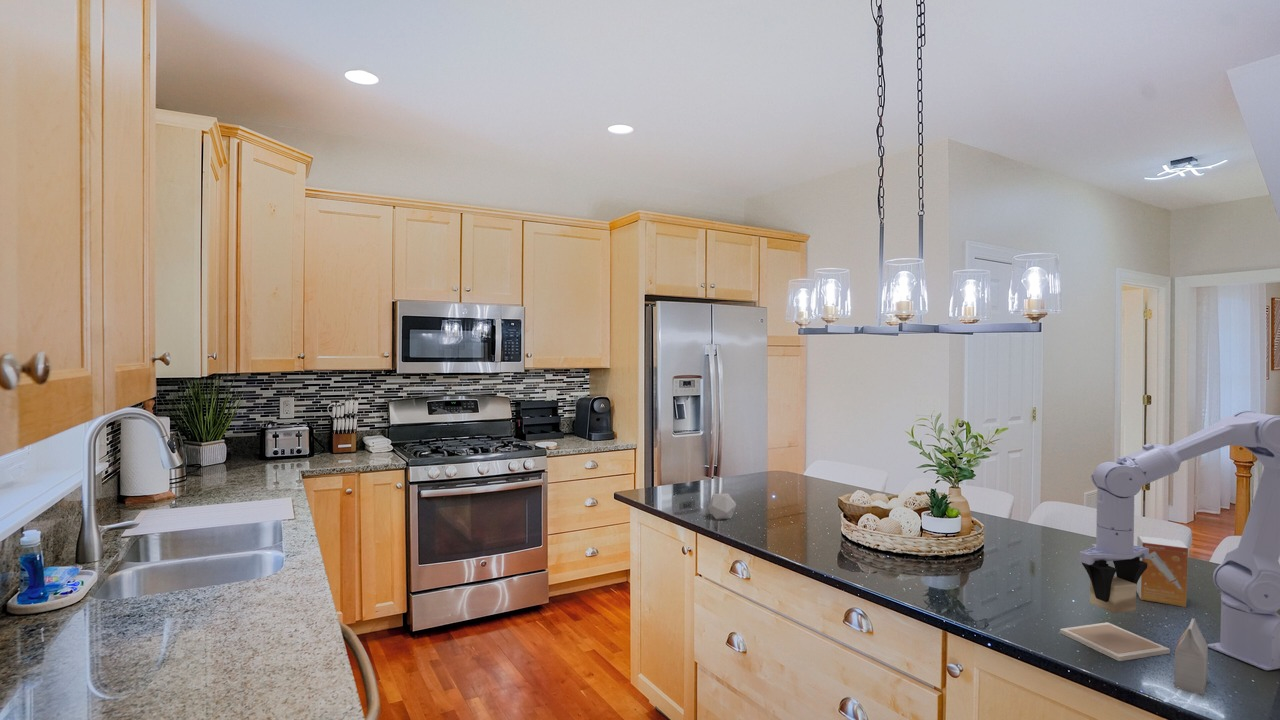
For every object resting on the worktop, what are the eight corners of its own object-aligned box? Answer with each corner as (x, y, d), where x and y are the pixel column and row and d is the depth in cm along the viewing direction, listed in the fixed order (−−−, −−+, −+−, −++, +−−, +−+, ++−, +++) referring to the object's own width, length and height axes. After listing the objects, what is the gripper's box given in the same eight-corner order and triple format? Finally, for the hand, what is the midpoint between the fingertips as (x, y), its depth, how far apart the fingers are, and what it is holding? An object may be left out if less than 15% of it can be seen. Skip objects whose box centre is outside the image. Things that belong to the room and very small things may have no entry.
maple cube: (1135, 610, 122) (1136, 584, 122) (1114, 613, 121) (1114, 586, 121) (1110, 600, 127) (1110, 574, 127) (1089, 603, 126) (1090, 577, 126)
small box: (1140, 600, 145) (1141, 541, 144) (1135, 591, 150) (1136, 534, 150) (1187, 607, 141) (1188, 547, 140) (1180, 598, 146) (1181, 540, 146)
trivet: (1169, 653, 120) (1170, 648, 120) (1119, 661, 116) (1119, 656, 116) (1107, 626, 131) (1107, 621, 131) (1059, 632, 128) (1059, 628, 128)
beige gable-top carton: (1207, 680, 110) (1208, 621, 110) (1203, 695, 105) (1205, 633, 105) (1178, 672, 113) (1180, 614, 112) (1174, 686, 108) (1175, 626, 108)
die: (731, 524, 208) (743, 497, 211) (708, 511, 208) (720, 484, 211) (723, 527, 215) (735, 501, 219) (700, 514, 215) (712, 488, 219)
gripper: (1124, 518, 129) (1122, 587, 129) (1065, 523, 125) (1064, 594, 126) (1160, 528, 122) (1159, 600, 123) (1100, 534, 119) (1098, 608, 119)
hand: (1113, 598), depth 124 cm, fingers closed on maple cube, 5 cm apart
